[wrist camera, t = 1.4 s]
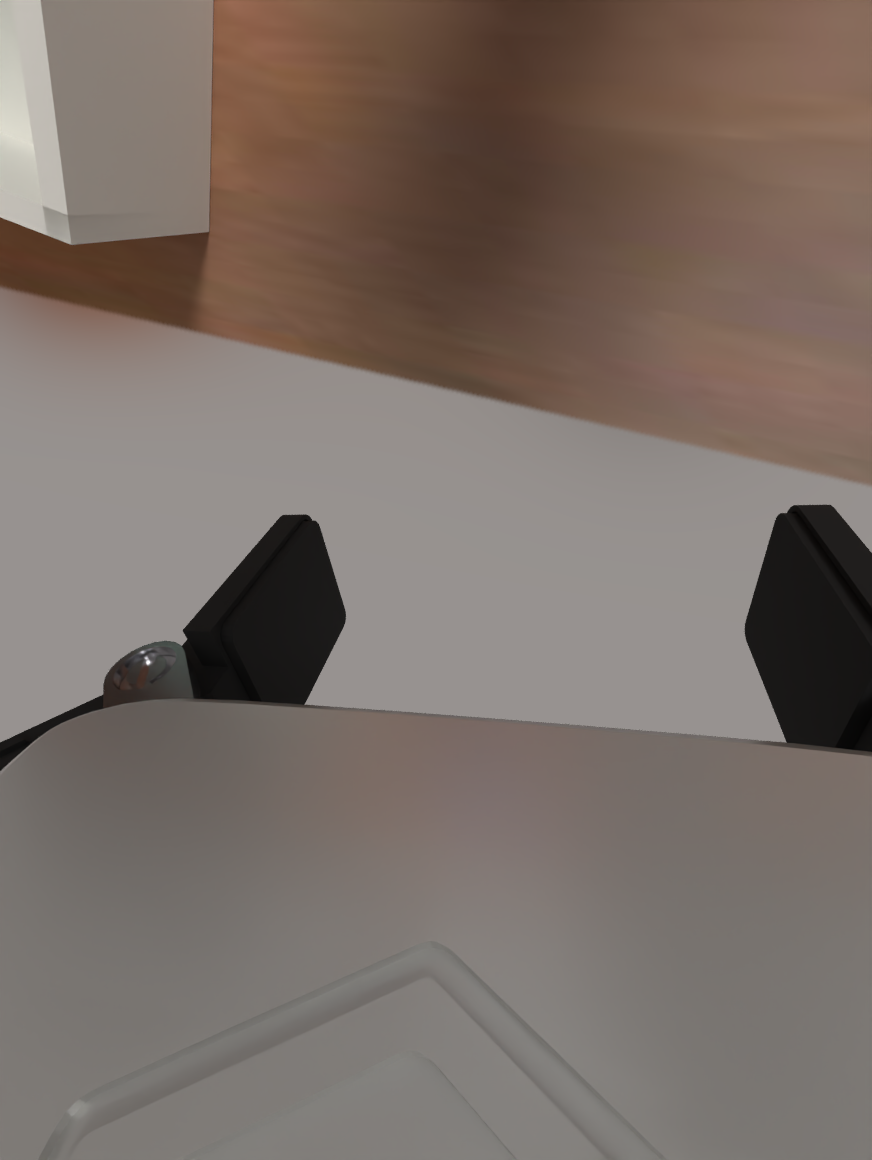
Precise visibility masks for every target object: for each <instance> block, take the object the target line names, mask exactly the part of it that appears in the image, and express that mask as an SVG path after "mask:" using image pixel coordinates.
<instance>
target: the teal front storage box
mask: <svg viewBox="0 0 872 1160" xmlns="http://www.w3.org/2000/svg"><path fill="white" fill-rule="evenodd" d="M213 2H214V0H0V217H1V218H3V219H6V220H8V221H11V222H14V223H16V224H19V225H21V226H24V227H27V228H29V229H32V230H34V231H37V232H39V233H42V234H45V235H47V236H50V237H52V238H55V239H58V240H60V241H63V242H65V243H68V244H70V245H76V244H86V243H97V242H108V241H118V240H129V239H140V238H151V237H161V236H172V235H183V234H193V233H204V232H209V212H210V159H211V107H212V54H213Z"/></svg>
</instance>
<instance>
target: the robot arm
mask: <svg viewBox="0 0 872 1160" xmlns="http://www.w3.org/2000/svg"><path fill="white" fill-rule="evenodd" d="M345 620H346V612H345V608H344V605H343V601H342V598H341V595H340V592H339V588H338V585H337V582H336V579H335V575H334V572H333V569H332V565H331V562H330V559H329V556H328V552H327V549H326V546H325V542H324V539H323V536H322V533H321V529H320V526H319V524H318V523H317V522H316V521H312V519H311V518H310V516H308V515H282V516H281V517H280V518H279V519H278V520H277V521H276V523H275V524H274V525H273V526H272V527H271V528H270V530H269V531H268V532H267V533H266V534H265V535H264V537H263V538H262V539H261V540H260V541H259V543H258V544H257V545H256V546H255V547H254V548H253V549H252V550H251V552H250V553H249V554H248V555H247V556H246V557H245V559H244V560H243V561H242V562H241V563H240V564H239V566H238V567H237V568H236V569H235V570H234V572H233V573H232V574H231V575H230V576H229V577H228V578H227V580H226V581H225V582H224V583H223V584H222V585H221V587H220V588H219V589H218V590H217V591H216V592H215V594H214V595H213V596H212V597H211V598H210V599H209V600H208V602H207V603H206V604H205V605H204V606H203V607H202V609H201V610H200V611H199V612H198V613H197V614H196V616H195V617H194V618H193V619H192V620H191V621H190V623H189V624H188V625H187V626H186V627H185V628H184V629H183V632H184V634H185V636H186V637H187V641H186V642H185V643H184V644H183V645H182V646H181V645H179V644H178V643H176V642H171V641H162V642H154V643H151V644H148V645H144V646H142V647H140V648H138V649H136V650H134V651H131V652H130V653H128V654H127V655H126V656H124V657H123V658H121V659H120V660H119V661H118V662H117V663H116V664H115V665H114V666H113V667H112V668H111V669H110V671H109V672H108V673H107V675H106V677H105V680H104V685H103V695H102V696H99V697H97V698H95V699H93V700H91V701H89V702H86V703H85V704H82V705H80V706H78V707H76V708H74V709H72V710H69V711H67V712H65V713H63V714H61V715H58V716H56V717H54V718H52V719H50V720H48V721H46V722H43V723H41V724H39V725H37V726H35V727H33V728H31V729H28V730H26V731H24V732H22V733H20V734H18V735H15V736H13V737H12V738H10V739H7V740H5V741H2V742H0V1160H872V553H871V552H870V551H869V549H868V548H867V547H866V546H865V544H864V543H863V542H862V541H861V540H860V538H859V537H858V536H857V535H856V534H855V533H854V531H853V530H852V529H851V528H850V526H849V525H848V524H847V523H846V522H845V520H844V519H843V518H842V517H841V516H840V514H839V513H838V512H837V511H836V510H835V508H834V507H832V506H831V505H794V506H792V507H791V508H790V509H789V510H788V512H787V513H781V514H779V515H778V516H777V518H776V520H775V523H774V527H773V530H772V534H771V537H770V540H769V544H768V547H767V551H766V554H765V557H764V561H763V564H762V568H761V571H760V575H759V578H758V581H757V585H756V588H755V592H754V595H753V598H752V602H751V605H750V609H749V612H748V616H747V619H746V623H745V636H746V641H747V643H748V646H749V648H750V651H751V653H752V656H753V658H754V661H755V663H756V666H757V668H758V671H759V673H760V676H761V679H762V681H763V684H764V686H765V689H766V691H767V694H768V696H769V699H770V701H771V704H772V706H773V709H774V711H775V714H776V716H777V719H778V722H779V724H780V727H781V729H782V732H783V734H784V737H785V739H786V742H787V743H784V742H771V741H758V740H748V739H738V738H726V737H716V736H703V735H691V734H679V733H667V732H654V731H642V730H630V729H617V728H605V727H593V726H581V725H569V724H556V723H544V722H543V723H542V722H531V721H518V720H505V719H492V718H479V717H466V716H453V715H439V714H426V713H413V712H399V711H385V710H371V709H356V708H343V707H329V706H315V705H304V704H305V702H306V700H307V699H308V697H309V695H310V693H311V691H312V688H313V686H314V684H315V683H316V681H317V679H318V676H319V675H320V673H321V671H322V669H323V667H324V665H325V663H326V661H327V659H328V657H329V655H330V653H331V651H332V649H333V647H334V645H335V643H336V641H337V639H338V637H339V635H340V633H341V631H342V629H343V627H344V624H345Z"/></svg>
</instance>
